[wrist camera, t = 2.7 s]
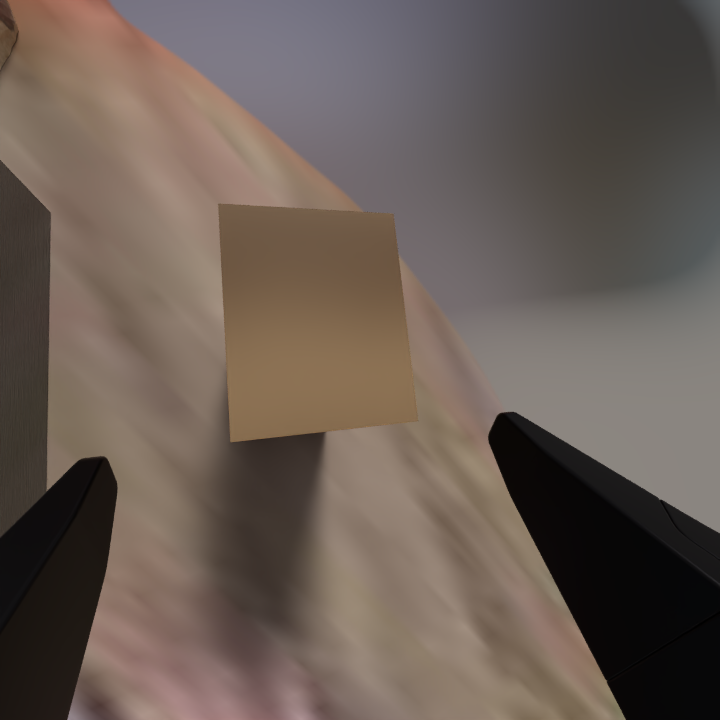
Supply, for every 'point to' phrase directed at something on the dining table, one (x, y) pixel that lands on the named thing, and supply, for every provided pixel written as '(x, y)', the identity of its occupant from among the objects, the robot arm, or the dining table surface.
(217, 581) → the dining table surface
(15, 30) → the figurine
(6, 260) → the grey hollow block
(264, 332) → the tan squared block
